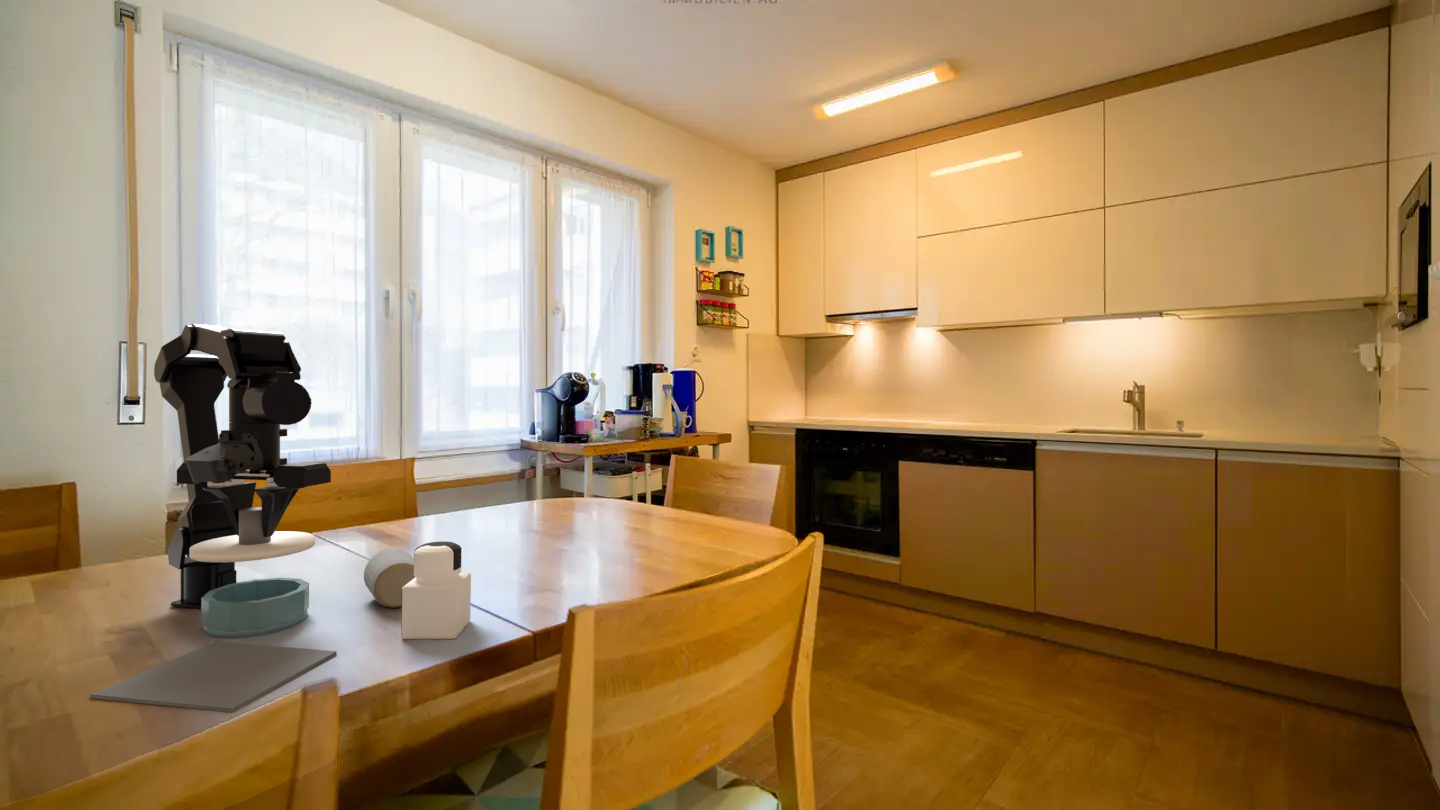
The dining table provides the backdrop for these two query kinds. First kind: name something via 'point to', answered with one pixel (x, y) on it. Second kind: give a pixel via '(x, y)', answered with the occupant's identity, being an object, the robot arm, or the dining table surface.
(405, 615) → the medicine bottle
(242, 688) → the mat
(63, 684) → the dining table surface
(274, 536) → the lid
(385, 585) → the ceramic mug
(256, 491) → the robot arm
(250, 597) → the bowl
